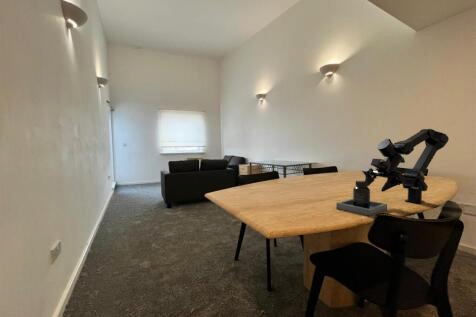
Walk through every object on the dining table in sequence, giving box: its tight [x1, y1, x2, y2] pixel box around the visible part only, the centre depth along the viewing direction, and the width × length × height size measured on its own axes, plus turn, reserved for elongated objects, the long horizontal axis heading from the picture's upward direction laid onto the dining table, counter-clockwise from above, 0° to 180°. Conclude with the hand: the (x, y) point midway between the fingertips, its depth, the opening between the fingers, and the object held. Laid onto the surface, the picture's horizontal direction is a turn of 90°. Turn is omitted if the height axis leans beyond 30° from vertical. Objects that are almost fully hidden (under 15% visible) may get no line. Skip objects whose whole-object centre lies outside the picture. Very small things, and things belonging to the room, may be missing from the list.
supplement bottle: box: [352, 180, 371, 209], centre depth 110 cm, size 7×7×12 cm
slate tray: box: [335, 198, 388, 218], centre depth 110 cm, size 15×15×3 cm
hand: (372, 189), depth 112 cm, fingers open, 9 cm apart
